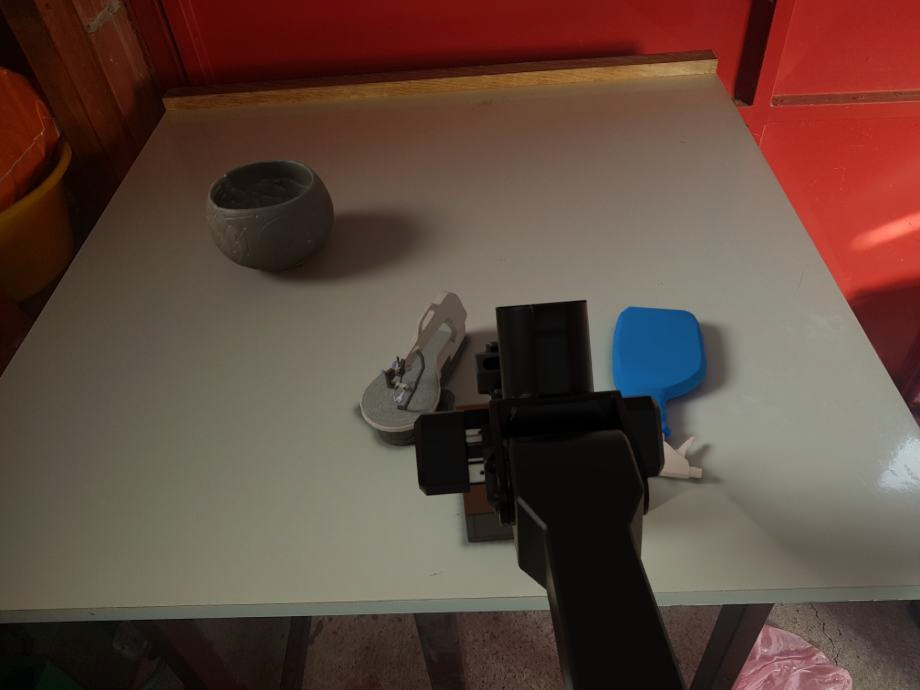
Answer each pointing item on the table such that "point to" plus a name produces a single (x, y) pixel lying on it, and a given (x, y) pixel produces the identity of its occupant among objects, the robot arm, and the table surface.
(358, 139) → the table surface
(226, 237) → the bowl
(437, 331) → the scroll saw
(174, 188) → the table surface
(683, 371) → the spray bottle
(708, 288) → the table surface
